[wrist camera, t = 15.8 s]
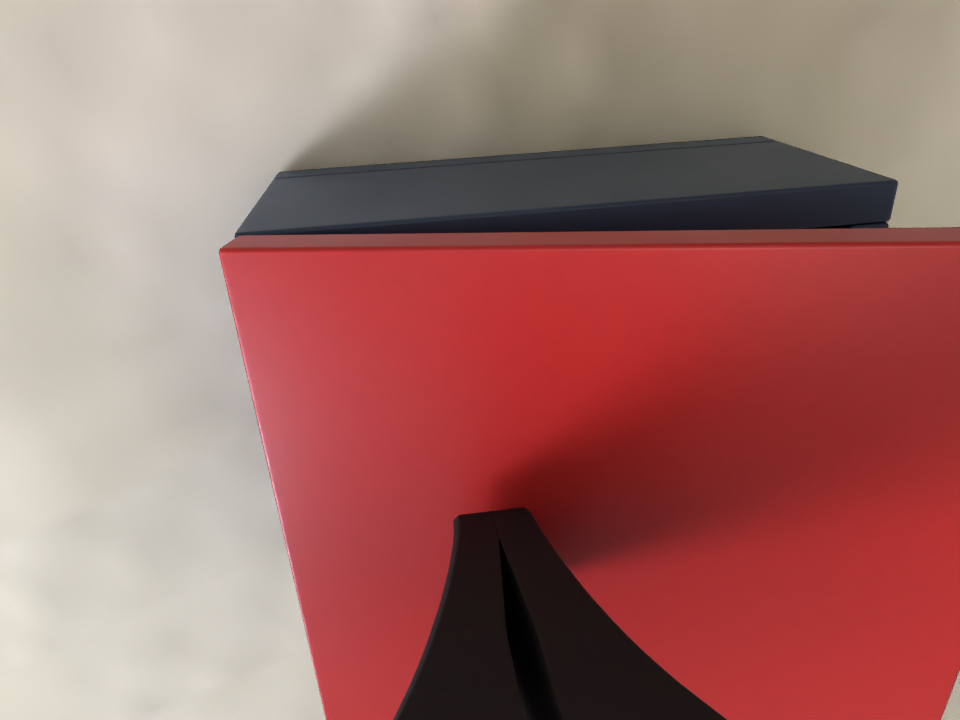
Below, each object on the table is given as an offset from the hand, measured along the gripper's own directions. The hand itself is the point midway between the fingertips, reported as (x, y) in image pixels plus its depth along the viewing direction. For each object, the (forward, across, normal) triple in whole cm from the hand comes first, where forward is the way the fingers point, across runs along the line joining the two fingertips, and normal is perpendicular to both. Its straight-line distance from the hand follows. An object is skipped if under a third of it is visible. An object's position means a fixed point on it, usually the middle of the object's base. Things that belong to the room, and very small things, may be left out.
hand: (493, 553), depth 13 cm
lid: (+1, -2, 0) cm, 2 cm away
